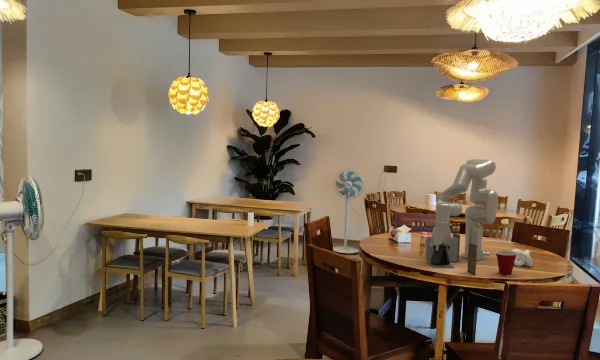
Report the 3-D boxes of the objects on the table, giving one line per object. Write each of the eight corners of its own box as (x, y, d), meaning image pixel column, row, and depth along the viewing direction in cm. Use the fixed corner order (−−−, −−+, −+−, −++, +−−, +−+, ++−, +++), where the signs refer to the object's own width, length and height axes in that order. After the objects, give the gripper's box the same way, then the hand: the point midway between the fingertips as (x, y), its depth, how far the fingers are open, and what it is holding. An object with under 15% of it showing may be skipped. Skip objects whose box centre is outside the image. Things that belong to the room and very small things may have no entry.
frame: (454, 259, 263) (455, 232, 262) (475, 275, 228) (477, 244, 227) (450, 259, 263) (452, 232, 262) (471, 275, 228) (473, 244, 227)
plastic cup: (493, 270, 240) (494, 248, 239) (515, 273, 236) (516, 250, 235) (494, 275, 230) (495, 252, 229) (517, 278, 226) (518, 255, 225)
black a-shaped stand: (436, 264, 243) (438, 243, 242) (429, 262, 249) (431, 241, 248) (449, 264, 246) (451, 243, 246) (442, 261, 252) (444, 240, 251)
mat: (447, 263, 253) (447, 262, 253) (454, 268, 241) (454, 267, 241) (426, 262, 253) (426, 261, 253) (432, 267, 241) (432, 266, 241)
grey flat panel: (457, 261, 254) (458, 238, 253) (425, 260, 254) (426, 236, 253) (455, 260, 256) (457, 237, 255) (424, 259, 256) (425, 236, 255)
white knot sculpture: (512, 261, 262) (513, 246, 262) (535, 265, 255) (536, 250, 254) (507, 265, 254) (508, 249, 253) (530, 269, 246) (531, 253, 245)
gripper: (454, 224, 250) (453, 256, 251) (425, 223, 250) (424, 255, 251) (459, 226, 242) (457, 259, 243) (429, 225, 243) (427, 258, 244)
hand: (440, 257), depth 247 cm, fingers closed on black a-shaped stand, 3 cm apart
